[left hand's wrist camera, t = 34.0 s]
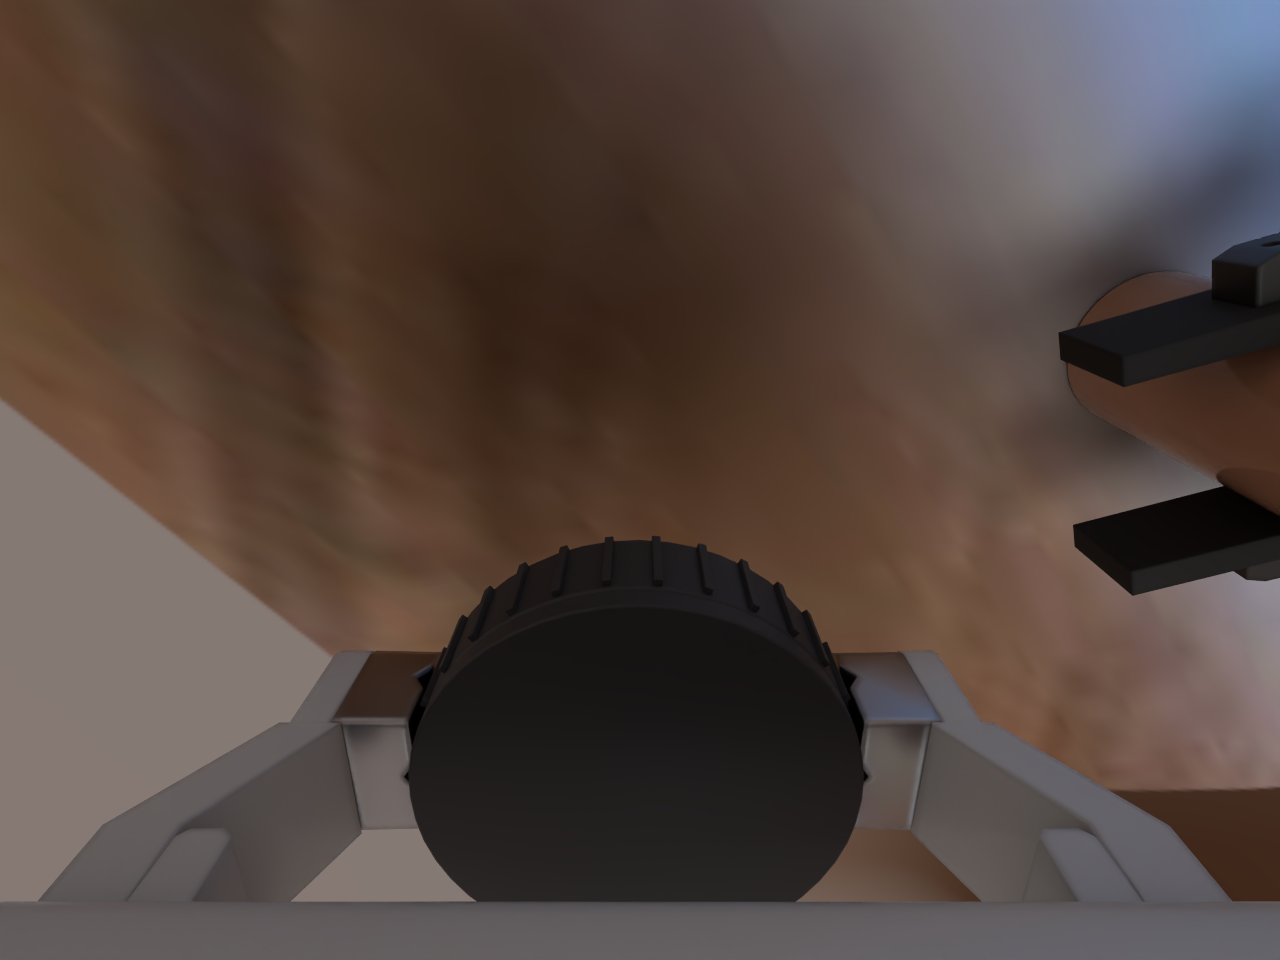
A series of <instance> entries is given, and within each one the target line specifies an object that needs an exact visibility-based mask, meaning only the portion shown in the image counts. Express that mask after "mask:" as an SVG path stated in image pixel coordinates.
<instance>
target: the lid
mask: <svg viewBox="0 0 1280 960" xmlns="http://www.w3.org/2000/svg"><path fill="white" fill-rule="evenodd" d="M848 700H850V697H849V694H848V692H847V689H846V687H845V684H844V682H843V679H842V677H841V675H840V672H839V670H838V667H837V665H836V662H835V660H834V658H833V655H832V653H831V650H830V648H829V645H828V643H827V642H824V643H822V642H821V640H820V637H819V635H818V632H817V630H816V627H815V624H814V622H813V619H812V617H811V614H810V613H809V612H808V611H807V610H805V611H804V612H801V611H800V610H799V609H798V608H797V607H796V606H795V605H794V604H793V603H792V601H791V600H790V599H789V598H788V597H787V595H786V593H785V590H784V587H783V585H782V584H780V583H779V582H777V583H775V584H774V585H772V584H771V583H770V582H769V581H767V580H766V579H764V578H763V577H761V576H759V575H758V574H756V573H755V572H753V571H751V570H750V569H749V565H748V562H747V561H745V560H743V559H741V560H740V561H739V563H736V562H734V561H731V560H729V559H727V558H725V557H723V556H720V555H718V554H714V553H711V552H708V551H707V548H706V545H703V544H700V543H699V544H698V546H697V548H695V547H691V546H685V545H680V544H675V543H669V542H661V540H660V536H652V541H644V540H631V541H614V539H613V537H605V543H599V544H593V545H587V546H582V547H579V548H575V549H572V550H569V548H568V546H567V545H566V546H563V547H560V550H559V553H558V554H555V555H553V556H551V557H549V558H546V559H544V560H542V561H539V562H537V563H535V564H532V565H530V566H528V565H527V563H526V562H525V563H523V564H521V565H519V568H518V571H517V574H515V575H514V576H512V577H510V578H509V579H507V580H506V581H505V582H503V583H502V584H501V585H500V586H498V587H497V588H496V589H495V590H494V589H493V588H492V587H491V586H489V587H488V588H487V589H486V590H485V591H484V594H483V597H482V599H481V602H480V604H479V605H478V606H477V607H476V608H475V609H474V610H473V611H472V612H471V614H470V615H469V617H468V618H467V617H466V616H464V615H462V616H461V617H460V619H459V620H458V623H457V625H456V628H455V630H454V633H453V635H452V638H451V640H450V642H449V645H448V647H447V648H445V647H444V648H443V650H442V653H441V655H440V658H439V660H438V662H437V665H436V667H435V670H434V672H433V674H432V677H431V679H430V682H429V684H428V686H427V689H426V691H425V693H424V696H423V698H422V701H421V703H420V706H423V707H426V709H425V711H424V713H423V716H422V718H421V720H420V723H419V725H418V728H417V732H416V735H415V738H414V742H413V745H412V749H411V755H410V764H409V773H408V774H409V791H410V799H411V804H412V808H413V812H414V816H415V820H416V823H417V825H418V828H419V830H420V832H421V835H422V837H423V840H424V842H425V843H426V845H427V847H428V848H429V850H430V852H431V853H432V855H433V856H434V858H435V860H436V861H437V862H438V864H439V865H440V866H441V867H442V868H443V870H444V871H445V872H446V873H447V875H448V876H449V877H450V878H451V879H452V880H453V881H454V882H455V883H456V884H457V885H458V886H459V887H460V888H461V889H462V890H463V891H464V892H465V893H467V894H468V895H469V896H470V897H472V898H473V899H474V900H476V901H477V902H796V901H797V900H798V899H800V898H801V897H802V896H804V895H805V894H806V893H807V892H808V891H809V890H810V889H811V888H812V887H813V886H814V885H816V884H817V883H818V882H819V881H820V880H821V879H822V877H823V876H824V875H825V874H826V873H827V872H828V870H829V869H830V868H831V867H832V866H833V864H834V863H835V862H836V860H837V859H838V857H839V856H840V854H841V852H842V851H843V849H844V848H845V846H846V844H847V843H848V840H849V838H850V836H851V834H852V831H853V829H854V827H855V824H856V822H857V818H858V814H859V810H860V806H861V802H862V796H863V784H864V769H863V758H862V751H861V747H860V744H859V740H858V736H857V732H856V729H855V727H854V724H853V722H852V719H851V717H850V714H849V712H848V710H847V706H848Z"/></svg>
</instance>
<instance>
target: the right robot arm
mask: <svg viewBox="0 0 1280 960" xmlns="http://www.w3.org/2000/svg"><path fill="white" fill-rule="evenodd" d="M1059 344H1060V358H1061V360H1063V361H1065V362H1067V363H1069V364H1072V365H1074V366H1076V367H1079V368H1081V369H1083V370H1085V371H1088V372H1090V373H1092V374H1095V375H1097V376H1099V377H1101V378H1104V379H1106V380H1108V381H1111V382H1113V383H1115V384H1117V385H1120V386H1122V387H1127V386H1131V385H1134V384H1138V383H1142V382H1145V381H1149V380H1153V379H1156V378H1160V377H1164V376H1167V375H1171V374H1174V373H1178V372H1182V371H1185V370H1189V369H1193V368H1196V367H1200V366H1204V365H1207V364H1211V363H1214V362H1218V361H1222V360H1225V359H1229V358H1233V357H1236V356H1240V355H1244V354H1247V353H1251V352H1254V351H1258V350H1262V349H1265V348H1269V347H1273V346H1276V345H1280V232H1279V233H1278V234H1272V235H1269V236H1266V237H1262V238H1261V239H1255V240H1252V241H1248V242H1245V243H1242V244H1238V245H1235V246H1233V247H1231V248H1230V249H1228V250H1227V251H1225V252H1224V253H1222V254H1221V255H1219V256H1218V257H1216V258H1215V259H1213V260H1212V289H1210V290H1206V291H1203V292H1199V293H1196V294H1192V295H1189V296H1185V297H1182V298H1178V299H1175V300H1171V301H1168V302H1164V303H1161V304H1157V305H1154V306H1150V307H1147V308H1143V309H1140V310H1136V311H1133V312H1129V313H1126V314H1122V315H1119V316H1115V317H1112V318H1108V319H1105V320H1101V321H1098V322H1094V323H1091V324H1087V325H1084V326H1080V327H1077V328H1073V329H1070V330H1066V331H1063V332H1059ZM1073 530H1074V543H1075V547H1076V548H1077V549H1078V550H1079V551H1081V552H1082V553H1083V554H1084V555H1085V556H1086V557H1088V558H1089V559H1090V560H1091V561H1092V562H1094V563H1095V564H1096V565H1097V566H1098V567H1099V568H1101V569H1102V570H1103V571H1104V572H1105V573H1107V574H1108V575H1109V576H1110V577H1111V578H1112V579H1114V580H1115V581H1116V582H1117V583H1118V584H1119V585H1121V586H1122V587H1123V588H1124V589H1125V590H1127V591H1128V592H1129V593H1130V594H1131V595H1132V596H1133V595H1137V594H1141V593H1145V592H1149V591H1153V590H1158V589H1162V588H1166V587H1170V586H1174V585H1178V584H1182V583H1186V582H1190V581H1194V580H1198V579H1202V578H1207V577H1211V576H1215V575H1219V574H1223V573H1227V572H1231V571H1234V572H1236V573H1237V574H1239V575H1240V576H1242V577H1243V578H1245V579H1246V580H1257V581H1268V580H1273V579H1277V578H1280V516H1278V515H1276V514H1275V513H1273V512H1271V511H1269V510H1267V509H1265V508H1264V507H1262V506H1260V505H1258V504H1256V503H1254V502H1253V501H1251V500H1249V499H1247V498H1245V497H1243V496H1242V495H1240V494H1238V493H1236V492H1234V491H1233V490H1231V489H1229V488H1227V487H1225V486H1222V487H1219V488H1215V489H1211V490H1207V491H1203V492H1199V493H1195V494H1191V495H1187V496H1184V497H1180V498H1176V499H1172V500H1168V501H1164V502H1160V503H1156V504H1152V505H1149V506H1145V507H1141V508H1137V509H1133V510H1129V511H1125V512H1121V513H1118V514H1114V515H1110V516H1106V517H1102V518H1098V519H1094V520H1090V521H1086V522H1083V523H1079V524H1075V525H1073Z"/></svg>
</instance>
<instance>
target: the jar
mask: <svg viewBox="0 0 1280 960" xmlns="http://www.w3.org/2000/svg"><path fill="white" fill-rule="evenodd" d="M1210 289H1212V278H1210V277H1205V276H1200V275H1194V274H1189V273H1184V272H1177V271H1160V272H1153V273H1148V274H1145V275H1141V276H1138V277H1136V278H1133V279H1131V280H1128V281H1127V282H1125V283H1123V284H1121V285H1119V286H1117V287H1116V288H1114V289H1113V290H1112V291H1110V292H1109V293H1107V294H1106V295H1105V296H1104V297H1103V298H1101V299H1100V300H1099V301H1098V302H1097V303H1096V304H1095V305H1094V306H1093V307H1092V308H1091V310H1090V311H1089V312H1088V313H1087V315H1086V316H1085V317H1084V319H1083V320H1082V322H1081V324H1080V325H1079V327H1080V326H1084V325H1087V324H1091V323H1094V322H1098V321H1101V320H1105V319H1108V318H1112V317H1115V316H1119V315H1122V314H1126V313H1129V312H1133V311H1136V310H1140V309H1143V308H1147V307H1150V306H1154V305H1157V304H1161V303H1164V302H1168V301H1171V300H1175V299H1178V298H1182V297H1185V296H1189V295H1192V294H1196V293H1199V292H1203V291H1206V290H1210ZM1067 368H1068V378H1069V382H1070V386H1071V388H1072V391H1073V393H1074V395H1075V396H1076V398H1077V400H1078V401H1079V402H1080V403H1081V405H1082V406H1083V407H1084V408H1086V409H1087V410H1088V411H1089V412H1091V413H1092V414H1094V415H1096V416H1097V417H1099V418H1101V419H1103V420H1105V421H1107V422H1108V423H1110V424H1112V425H1114V426H1116V427H1118V428H1119V429H1121V430H1123V431H1125V432H1127V433H1128V434H1130V435H1132V436H1134V437H1136V438H1138V439H1139V440H1141V441H1143V442H1145V443H1147V444H1149V445H1150V446H1152V447H1154V448H1156V449H1158V450H1160V451H1161V452H1163V453H1165V454H1167V455H1169V456H1170V457H1172V458H1174V459H1176V460H1178V461H1180V462H1181V463H1183V464H1185V465H1187V466H1189V467H1191V468H1192V469H1194V470H1196V471H1198V472H1200V473H1202V474H1203V475H1205V476H1207V477H1209V478H1211V479H1212V480H1214V481H1216V482H1218V483H1220V484H1222V485H1223V486H1225V487H1227V488H1229V489H1231V490H1233V491H1234V492H1236V493H1238V494H1240V495H1242V496H1243V497H1245V498H1247V499H1249V500H1251V501H1253V502H1254V503H1256V504H1258V505H1260V506H1262V507H1264V508H1265V509H1267V510H1269V511H1271V512H1273V513H1275V514H1276V515H1278V516H1280V345H1276V346H1273V347H1269V348H1265V349H1262V350H1258V351H1254V352H1251V353H1247V354H1244V355H1240V356H1236V357H1233V358H1229V359H1225V360H1222V361H1218V362H1214V363H1211V364H1207V365H1204V366H1200V367H1196V368H1193V369H1189V370H1185V371H1182V372H1178V373H1174V374H1171V375H1167V376H1164V377H1160V378H1156V379H1153V380H1149V381H1145V382H1142V383H1138V384H1134V385H1131V386H1127V387H1122V386H1120V385H1117V384H1115V383H1113V382H1111V381H1108V380H1106V379H1104V378H1101V377H1099V376H1097V375H1095V374H1092V373H1090V372H1088V371H1085V370H1083V369H1081V368H1079V367H1076V366H1074V365H1072V364H1069V363H1068V365H1067Z"/></svg>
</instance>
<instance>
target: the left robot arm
mask: <svg viewBox="0 0 1280 960" xmlns="http://www.w3.org/2000/svg"><path fill="white" fill-rule="evenodd" d="M441 653H442V652H408V651H375V652H374V651H341V652H339V653H337V654H336V655H335V656H334V657H333V659H332V660H331V662H330V663H329V665H328V666H327V668H326V669H325V671H324V672H323V674H322V675H321V677H320V678H319V680H318V681H317V683H316V684H315V686H314V687H313V689H312V690H311V692H310V693H309V695H308V696H307V698H306V699H305V701H304V702H303V704H302V705H301V707H300V708H299V710H298V711H297V713H296V714H295V716H294V717H293V719H292V720H291V722H290V723H278V724H276V725H274V726H273V727H271V728H269V729H268V730H266V731H264V732H262V733H261V734H259V735H257V736H256V737H254V738H252V739H250V740H249V741H247V742H245V743H243V744H242V745H240V746H238V747H236V748H235V749H233V750H231V751H230V752H228V753H226V754H224V755H223V756H221V757H219V758H217V759H216V760H214V761H212V762H211V763H209V764H207V765H205V766H204V767H202V768H200V769H198V770H197V771H195V772H193V773H192V774H190V775H188V776H186V777H185V778H183V779H181V780H180V781H178V782H176V783H174V784H173V785H171V786H169V787H167V788H166V789H164V790H162V791H161V792H159V793H157V794H155V795H154V796H152V797H150V798H148V799H147V800H145V801H143V802H142V803H140V804H138V805H136V806H135V807H133V808H131V809H129V810H128V811H126V812H124V813H123V814H121V815H119V816H117V817H116V818H114V819H112V820H110V821H109V822H107V823H105V824H104V825H102V826H101V828H100V829H99V830H98V831H97V832H96V833H95V835H94V836H93V837H92V838H91V839H90V840H89V842H88V843H87V844H86V845H85V846H84V847H83V849H82V850H81V851H80V852H79V853H78V855H77V856H76V857H75V858H74V859H73V860H72V861H71V863H70V864H69V865H68V866H67V868H66V869H65V870H64V871H63V872H62V873H61V874H60V876H59V877H58V878H57V879H56V880H55V881H54V883H53V884H52V885H51V886H50V887H49V888H48V890H47V891H46V892H45V893H44V894H43V895H42V897H41V898H40V899H39V900H38V901H37V902H0V960H1280V902H1232V901H1231V899H1230V898H1229V897H1228V896H1227V895H1226V893H1225V892H1224V891H1223V890H1222V889H1221V887H1220V886H1219V885H1218V884H1217V883H1216V881H1215V880H1214V879H1213V878H1212V877H1211V875H1210V874H1209V873H1208V872H1207V871H1206V869H1205V868H1204V867H1203V866H1202V865H1201V863H1200V862H1199V861H1198V860H1197V859H1196V857H1195V856H1194V855H1193V854H1192V853H1191V851H1190V850H1189V849H1188V848H1187V847H1186V845H1185V844H1184V843H1183V842H1182V841H1181V839H1180V838H1179V837H1178V836H1177V835H1176V833H1175V832H1174V831H1173V830H1172V829H1171V827H1170V826H1168V825H1167V824H1165V823H1163V822H1162V821H1160V820H1158V819H1156V818H1155V817H1153V816H1151V815H1150V814H1148V813H1146V812H1144V811H1143V810H1141V809H1139V808H1138V807H1136V806H1134V805H1133V804H1131V803H1129V802H1127V801H1126V800H1124V799H1122V798H1121V797H1119V796H1117V795H1116V794H1114V793H1112V792H1110V791H1109V790H1107V789H1105V788H1104V787H1102V786H1100V785H1098V784H1097V783H1095V782H1093V781H1092V780H1090V779H1088V778H1087V777H1085V776H1083V775H1081V774H1080V773H1078V772H1076V771H1075V770H1073V769H1071V768H1069V767H1068V766H1066V765H1064V764H1063V763H1061V762H1059V761H1058V760H1056V759H1054V758H1052V757H1051V756H1049V755H1047V754H1046V753H1044V752H1042V751H1041V750H1039V749H1037V748H1035V747H1034V746H1032V745H1030V744H1029V743H1027V742H1025V741H1023V740H1022V739H1020V738H1018V737H1017V736H1015V735H1013V734H1012V733H1010V732H1008V731H1006V730H1005V729H1003V728H1001V727H1000V726H998V725H996V724H995V723H982V721H981V719H980V718H979V716H978V715H977V713H976V712H975V710H974V709H973V707H972V706H971V704H970V703H969V701H968V700H967V698H966V697H965V695H964V694H963V692H962V691H961V689H960V688H959V686H958V685H957V683H956V682H955V680H954V679H953V677H952V676H951V674H950V672H949V671H948V669H947V668H946V666H945V665H944V663H943V662H942V660H941V659H940V657H939V656H938V654H937V653H935V652H933V651H932V650H924V651H898V652H872V653H832V655H833V658H834V660H835V662H836V665H837V667H838V670H839V672H840V675H841V677H842V679H843V682H844V684H845V687H846V689H847V692H848V694H849V697H850V700H848V706H847V710H848V712H849V714H850V717H851V719H852V722H853V724H854V727H855V729H856V732H857V736H858V740H859V744H860V747H861V751H862V758H863V769H864V784H863V796H862V802H861V806H860V810H859V814H858V818H857V822H856V824H855V827H854V828H860V829H897V830H912V832H911V833H912V834H913V835H914V836H915V837H916V838H917V839H918V840H919V841H920V842H921V843H922V844H923V845H924V846H925V847H926V848H927V849H928V850H929V851H931V852H932V853H933V854H934V855H935V856H936V857H937V858H938V859H939V860H940V861H941V862H942V863H943V864H944V865H945V866H946V867H947V868H948V869H949V870H950V871H951V872H952V873H953V874H954V875H955V876H956V877H957V878H958V879H959V880H960V881H961V882H962V883H964V884H965V885H966V886H967V887H968V888H969V889H970V890H971V891H972V892H973V893H974V894H975V895H976V896H977V897H978V898H979V899H980V900H981V901H982V902H290V901H291V900H293V899H294V898H295V897H296V896H297V895H298V894H299V893H300V892H301V891H302V890H303V889H304V888H305V887H306V886H307V885H308V884H309V883H310V882H311V881H312V880H313V879H314V878H315V877H317V876H318V875H319V874H320V873H321V872H322V871H323V870H324V869H325V868H326V867H327V866H328V865H329V864H330V863H331V862H332V861H333V860H334V859H335V858H336V857H337V856H338V855H340V854H341V853H342V852H343V851H344V850H345V849H346V848H347V847H348V846H349V845H350V844H351V843H352V842H353V841H354V840H355V839H356V838H357V837H358V836H359V835H360V834H361V830H376V829H411V828H418V825H417V823H416V820H415V816H414V812H413V808H412V804H411V799H410V791H409V774H408V773H409V764H410V755H411V749H412V745H413V742H414V738H415V735H416V732H417V728H418V725H419V723H420V720H421V718H422V716H423V713H424V711H425V709H426V707H423V706H420V703H421V701H422V698H423V696H424V693H425V691H426V689H427V686H428V684H429V682H430V679H431V677H432V674H433V672H434V670H435V667H436V665H437V662H438V660H439V658H440V655H441Z"/></svg>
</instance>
